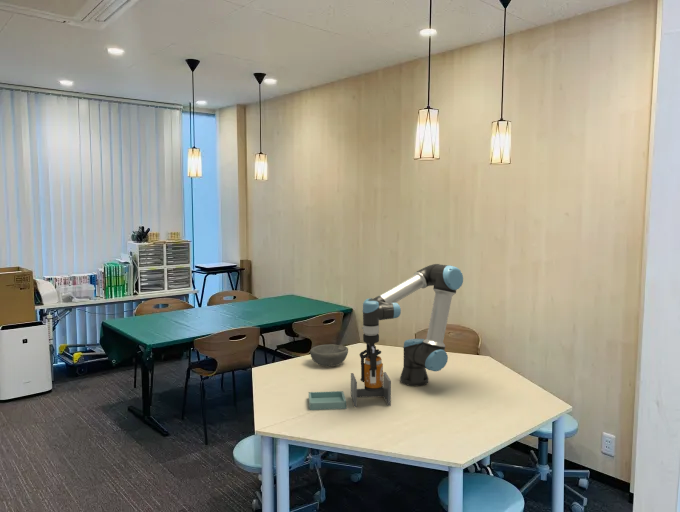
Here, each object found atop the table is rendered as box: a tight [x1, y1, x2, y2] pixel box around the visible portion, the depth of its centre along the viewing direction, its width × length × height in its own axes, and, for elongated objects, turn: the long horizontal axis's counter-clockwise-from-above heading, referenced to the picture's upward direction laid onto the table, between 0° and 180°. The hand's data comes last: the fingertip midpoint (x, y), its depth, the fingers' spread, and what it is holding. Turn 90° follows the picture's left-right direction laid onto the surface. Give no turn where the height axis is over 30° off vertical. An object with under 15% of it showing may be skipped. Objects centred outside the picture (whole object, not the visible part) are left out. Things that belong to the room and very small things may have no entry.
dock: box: [350, 371, 392, 408], centre depth 256 cm, size 17×14×12 cm
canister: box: [359, 348, 384, 392], centre depth 254 cm, size 9×11×20 cm
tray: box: [308, 390, 348, 411], centre depth 253 cm, size 17×15×3 cm
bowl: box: [309, 343, 349, 367], centre depth 316 cm, size 23×22×10 cm
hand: (371, 379), depth 255 cm, fingers closed on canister, 9 cm apart
